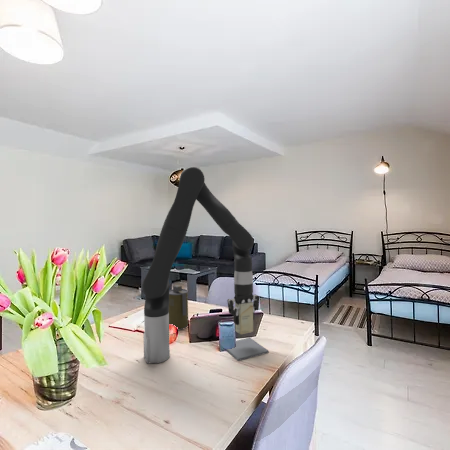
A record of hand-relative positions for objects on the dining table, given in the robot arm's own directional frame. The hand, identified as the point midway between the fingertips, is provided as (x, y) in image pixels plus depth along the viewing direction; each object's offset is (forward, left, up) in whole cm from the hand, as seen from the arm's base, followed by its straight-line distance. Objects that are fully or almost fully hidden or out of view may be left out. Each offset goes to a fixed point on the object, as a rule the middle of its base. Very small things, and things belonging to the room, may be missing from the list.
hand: (244, 322), depth 117 cm
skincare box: (0, 0, -4) cm, 4 cm away
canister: (-16, +37, -11) cm, 42 cm away
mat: (0, 0, -11) cm, 11 cm away
